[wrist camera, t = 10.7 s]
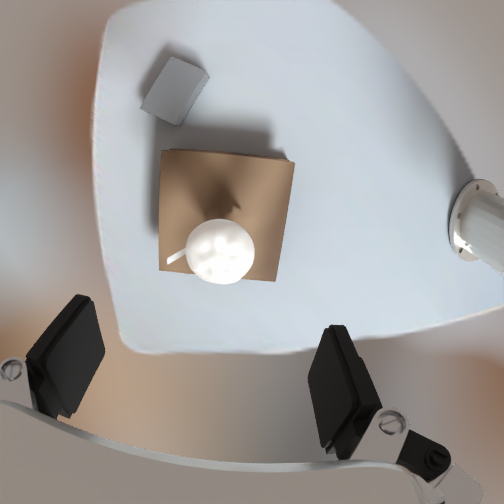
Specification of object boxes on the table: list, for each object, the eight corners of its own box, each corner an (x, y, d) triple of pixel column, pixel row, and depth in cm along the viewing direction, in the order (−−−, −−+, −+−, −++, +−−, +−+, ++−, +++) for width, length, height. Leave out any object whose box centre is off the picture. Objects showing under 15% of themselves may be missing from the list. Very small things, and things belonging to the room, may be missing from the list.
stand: (287, 159, 27) (294, 162, 23) (271, 264, 32) (275, 281, 28) (172, 148, 26) (161, 150, 23) (168, 254, 31) (159, 270, 27)
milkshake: (194, 191, 24) (166, 225, 15) (253, 196, 25) (260, 233, 15) (192, 238, 26) (167, 293, 17) (248, 243, 26) (251, 301, 17)
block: (210, 78, 24) (206, 71, 21) (180, 126, 26) (173, 124, 23) (178, 63, 23) (171, 56, 20) (149, 111, 25) (139, 108, 22)
